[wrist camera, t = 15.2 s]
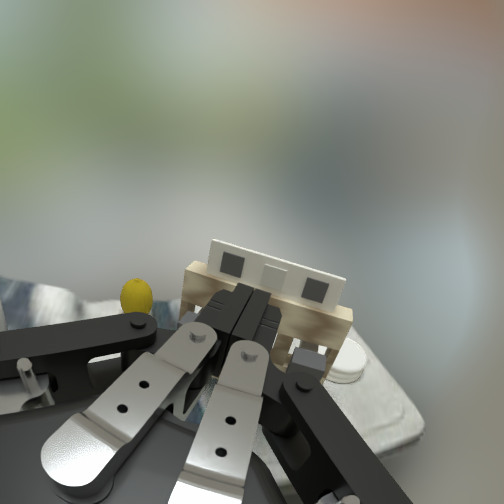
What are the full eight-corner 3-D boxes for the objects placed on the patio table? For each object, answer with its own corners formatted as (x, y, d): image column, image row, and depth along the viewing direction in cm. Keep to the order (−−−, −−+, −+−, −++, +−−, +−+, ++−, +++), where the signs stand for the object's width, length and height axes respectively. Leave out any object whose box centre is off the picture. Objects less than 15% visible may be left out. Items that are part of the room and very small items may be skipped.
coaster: (301, 371, 49) (308, 356, 47) (315, 340, 57) (321, 325, 56) (356, 392, 46) (365, 377, 44) (363, 358, 54) (370, 344, 53)
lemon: (149, 330, 49) (151, 290, 46) (117, 325, 48) (117, 284, 45) (153, 311, 54) (156, 273, 51) (124, 307, 53) (124, 268, 50)
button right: (282, 385, 35) (291, 361, 34) (293, 339, 45) (301, 317, 43) (313, 393, 35) (325, 371, 33) (319, 346, 44) (328, 325, 42)
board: (174, 362, 44) (185, 269, 38) (190, 340, 50) (203, 252, 44) (309, 408, 41) (352, 321, 35) (313, 381, 46) (351, 298, 40)
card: (205, 273, 38) (211, 240, 36) (207, 271, 39) (213, 238, 37) (333, 314, 36) (345, 281, 34) (333, 310, 36) (345, 278, 35)
